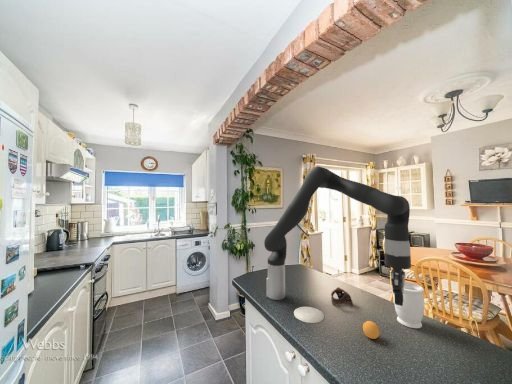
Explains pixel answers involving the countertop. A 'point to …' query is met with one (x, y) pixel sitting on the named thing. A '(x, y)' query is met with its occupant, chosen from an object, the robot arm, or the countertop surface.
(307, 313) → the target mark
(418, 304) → the jar
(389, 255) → the robot arm
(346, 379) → the countertop surface
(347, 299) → the pottery mug
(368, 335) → the ball
